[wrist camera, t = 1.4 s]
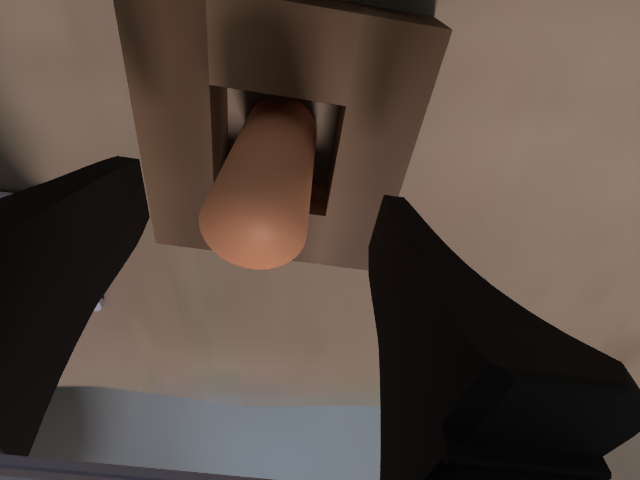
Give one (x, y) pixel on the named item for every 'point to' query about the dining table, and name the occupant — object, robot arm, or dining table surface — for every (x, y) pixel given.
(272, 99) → the pin
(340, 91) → the socket block
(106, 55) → the dining table surface
